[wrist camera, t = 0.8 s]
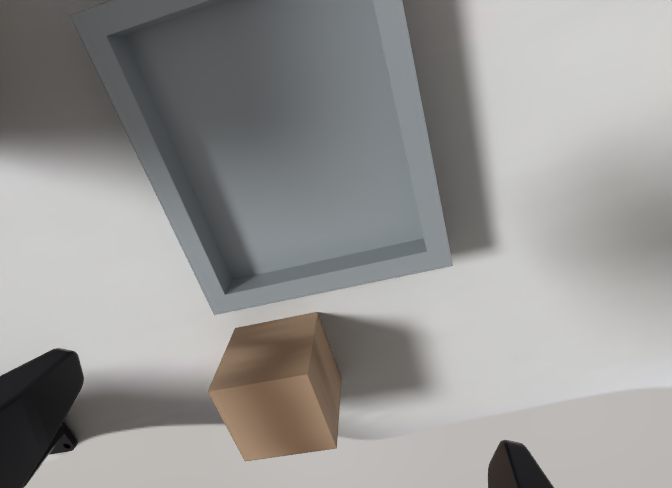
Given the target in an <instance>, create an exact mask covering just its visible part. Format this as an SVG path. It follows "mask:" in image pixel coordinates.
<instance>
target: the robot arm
mask: <svg viewBox="0 0 672 488" xmlns="http://www.w3.org/2000/svg"><path fill="white" fill-rule="evenodd" d="M83 381H84V376H83V372H82V368H81V365H80V361H79V357H78V354H77V353H76V352H74V351H71V350H66V349H61V348H57V349H53V350H51V351H49V352H47V353H45V354H43V355H41V356H39V357H37V358H35V359H33V360H31V361H29V362H27V363H25V364H23V365H21V366H19V367H17V368H15V369H13V370H11V371H9V372H7V373H5V374H3V375H1V376H0V488H23V487H25V486H26V485H27V483H28V482H29V480H30V479H31V478H32V476H33V475H34V474H35V472H36V471H37V470H38V468H39V467H40V465H41V464H42V463H43V461H44V460H45V459H46V457H47V456H48V455H49V454H55V453H61V452H68V451H72V450H73V449H74V448H75V447H76V445H77V443H78V442H77V440H76V439H75V437H74V436H73V435H72V433H71V432H70V431H69V429H68V428H67V427H66V425H65V424H64V423H63V420H64V419H65V417H66V415H67V413H68V411H69V410H70V408H71V406H72V404H73V402H74V401H75V399H76V397H77V395H78V394H79V392H80V390H81V388H82V385H83ZM488 488H554V487H553V486H552V484H551V483H550V481H549V480H548V478H547V477H546V475H545V474H544V472H543V471H542V470H541V468H540V467H539V465H538V464H537V462H536V461H535V459H534V458H533V456H532V455H531V453H530V452H529V451H528V449H527V448H526V447H525V446H524V445H523V444H521V443H518V442H513V441H509V440H503V441H501V442H500V444H499V445H498V447H497V450H496V451H495V453H494V455H493V457H492V459H491V461H490V464H489V468H488Z"/></svg>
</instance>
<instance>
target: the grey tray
mask: <svg viewBox="0 0 672 488" xmlns="http://www.w3.org/2000/svg"><path fill="white" fill-rule="evenodd" d="M70 16H71V19H72V21H73V23H74V25H75V27H76V29H77V31H78V33H79V35H80V37H81V39H82V41H83V43H84V46H85V48H86V50H87V52H88V54H89V56H90V58H91V60H92V62H93V64H94V66H95V68H96V70H97V73H98V75H99V77H100V79H101V81H102V83H103V85H104V87H105V89H106V91H107V93H108V95H109V97H110V100H111V102H112V104H113V106H114V108H115V110H116V112H117V114H118V116H119V118H120V120H121V122H122V124H123V127H124V129H125V131H126V133H127V135H128V137H129V139H130V141H131V143H132V145H133V147H134V149H135V151H136V154H137V156H138V158H139V160H140V162H141V164H142V166H143V168H144V170H145V172H146V174H147V176H148V178H149V181H150V183H151V185H152V187H153V189H154V191H155V193H156V195H157V197H158V199H159V201H160V203H161V205H162V208H163V210H164V212H165V214H166V216H167V218H168V220H169V222H170V224H171V226H172V228H173V230H174V232H175V235H176V237H177V239H178V241H179V243H180V245H181V247H182V249H183V251H184V253H185V255H186V257H187V259H188V262H189V264H190V266H191V268H192V270H193V272H194V274H195V276H196V278H197V280H198V282H199V284H200V286H201V289H202V291H203V293H204V295H205V297H206V299H207V301H208V303H209V305H210V307H211V309H212V311H213V313H214V315H216V314H221V313H226V312H231V311H236V310H241V309H246V308H250V307H255V306H260V305H265V304H270V303H275V302H279V301H284V300H289V299H294V298H299V297H304V296H309V295H313V294H318V293H323V292H328V291H333V290H338V289H343V288H347V287H352V286H357V285H362V284H367V283H372V282H377V281H381V280H386V279H391V278H396V277H401V276H406V275H410V274H415V273H420V272H425V271H430V270H435V269H440V268H444V267H449V266H453V264H452V258H451V253H450V248H449V243H448V237H447V232H446V227H445V222H444V216H443V211H442V206H441V201H440V195H439V190H438V185H437V180H436V174H435V169H434V164H433V159H432V153H431V148H430V143H429V138H428V132H427V127H426V122H425V117H424V111H423V106H422V101H421V96H420V90H419V85H418V80H417V75H416V69H415V64H414V59H413V54H412V48H411V43H410V38H409V33H408V27H407V22H406V17H405V12H404V6H403V1H402V0H112V1H109V2H106V3H103V4H101V5H98V6H95V7H92V8H89V9H87V10H84V11H81V12H78V13H75V14H73V15H70Z"/></svg>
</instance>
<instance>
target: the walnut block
mask: <svg viewBox="0 0 672 488" xmlns="http://www.w3.org/2000/svg"><path fill="white" fill-rule="evenodd" d="M208 393H209V395H210V397H211V399H212V401H213V402H214V404H215V406H216V408H217V410H218V412H219V414H220V416H221V417H222V419H223V421H224V423H225V425H226V427H227V429H228V430H229V432H230V434H231V436H232V438H233V440H234V441H235V444H236V445H237V447H238V449H239V451H240V453H241V455H242V456H243V458H244V460H245V461H250V460H258V459H265V458H272V457H279V456H286V455H293V454H300V453H307V452H314V451H321V450H329V449H335V448H337V436H338V422H339V407H340V393H341V376H340V373H339V370H338V367H337V364H336V362H335V359H334V356H333V353H332V351H331V348H330V345H329V342H328V339H327V337H326V334H325V331H324V328H323V325H322V323H321V320H320V317H319V314H318V312H315V313H310V314H305V315H300V316H295V317H289V318H284V319H279V320H274V321H269V322H264V323H259V324H254V325H249V326H244V327H239V328H235V330H234V332H233V334H232V337H231V339H230V341H229V344H228V346H227V348H226V351H225V353H224V355H223V358H222V360H221V362H220V364H219V367H218V369H217V371H216V374H215V376H214V378H213V381H212V383H211V385H210V388H209V390H208Z"/></svg>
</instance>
